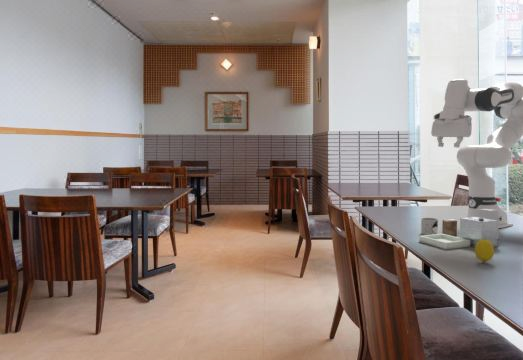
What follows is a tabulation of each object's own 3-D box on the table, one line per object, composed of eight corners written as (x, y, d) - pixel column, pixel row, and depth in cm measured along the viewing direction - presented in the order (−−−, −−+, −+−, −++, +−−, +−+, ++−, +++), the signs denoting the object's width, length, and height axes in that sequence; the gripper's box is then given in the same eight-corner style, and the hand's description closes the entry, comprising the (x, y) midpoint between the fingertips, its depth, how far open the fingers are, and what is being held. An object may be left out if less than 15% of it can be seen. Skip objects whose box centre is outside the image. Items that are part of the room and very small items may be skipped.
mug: (435, 236, 181) (436, 220, 180) (419, 234, 184) (419, 219, 184) (440, 232, 189) (440, 217, 188) (424, 230, 192) (424, 216, 192)
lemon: (470, 260, 140) (471, 237, 139) (486, 260, 140) (487, 236, 140) (480, 265, 134) (481, 240, 134) (497, 264, 135) (498, 240, 134)
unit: (474, 240, 170) (475, 214, 169) (499, 246, 160) (500, 218, 159) (457, 242, 167) (457, 215, 166) (481, 248, 156) (482, 220, 156)
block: (449, 235, 181) (449, 218, 181) (456, 237, 178) (457, 220, 177) (442, 236, 180) (442, 219, 179) (449, 238, 176) (449, 220, 176)
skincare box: (499, 239, 173) (500, 210, 172) (491, 240, 171) (492, 210, 170) (485, 236, 179) (486, 208, 178) (478, 237, 177) (479, 208, 176)
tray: (442, 239, 174) (442, 233, 173) (470, 246, 161) (470, 240, 160) (419, 241, 169) (419, 235, 169) (445, 249, 156) (446, 242, 156)
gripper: (477, 115, 177) (472, 148, 178) (441, 117, 196) (437, 147, 197) (465, 113, 175) (461, 146, 176) (431, 115, 194) (426, 145, 195)
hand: (448, 147), depth 186 cm, fingers open, 8 cm apart
